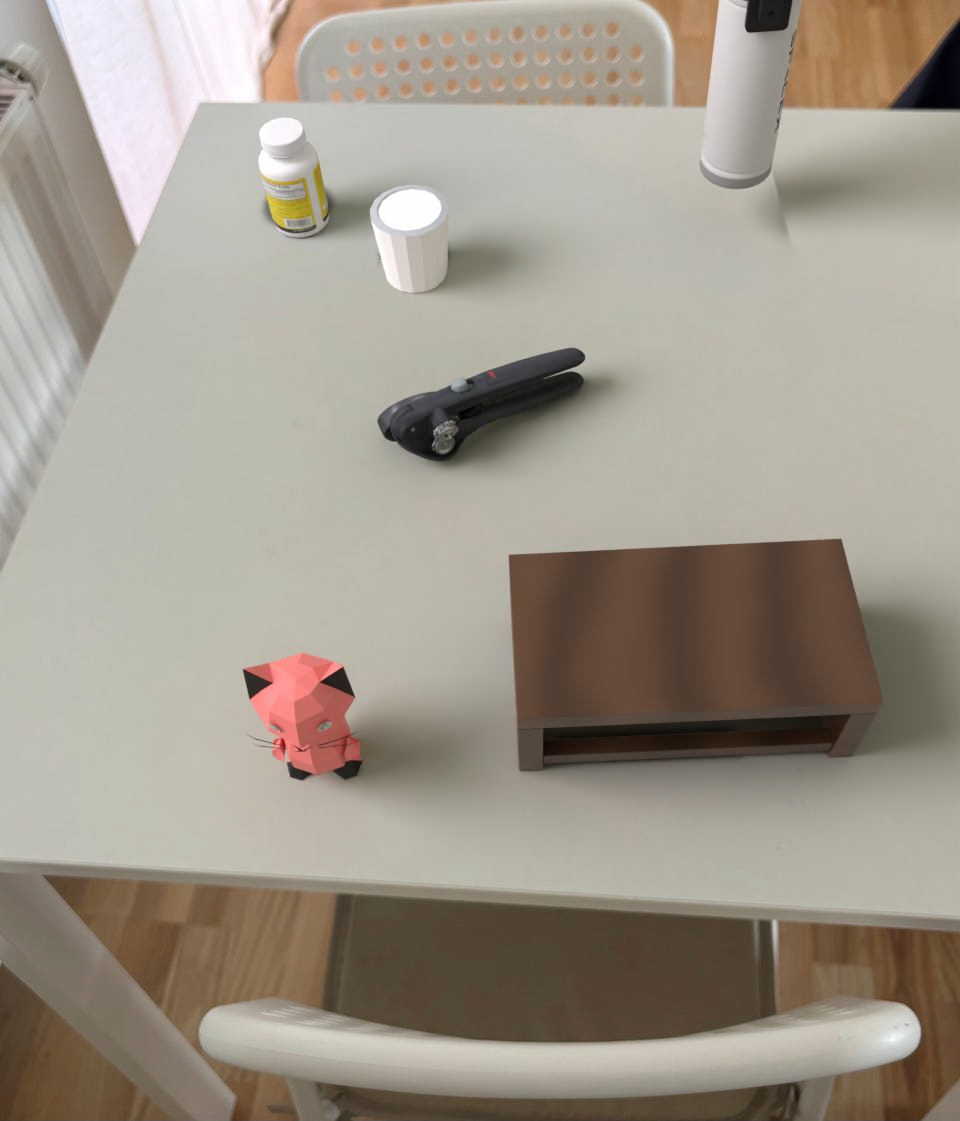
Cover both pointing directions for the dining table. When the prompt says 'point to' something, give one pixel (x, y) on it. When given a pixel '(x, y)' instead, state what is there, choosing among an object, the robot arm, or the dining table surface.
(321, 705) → the cat figurine
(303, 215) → the supplement bottle
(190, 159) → the dining table surface
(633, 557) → the shelf
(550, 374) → the can opener
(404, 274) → the shot glass
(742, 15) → the travel mug
